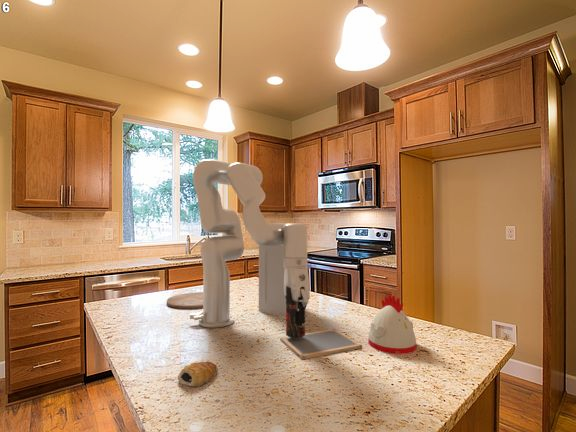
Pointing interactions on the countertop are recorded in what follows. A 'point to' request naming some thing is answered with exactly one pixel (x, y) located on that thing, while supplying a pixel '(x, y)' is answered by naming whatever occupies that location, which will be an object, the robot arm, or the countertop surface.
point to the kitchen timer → (392, 329)
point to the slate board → (320, 343)
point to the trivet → (186, 301)
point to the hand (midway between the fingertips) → (295, 319)
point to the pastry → (197, 373)
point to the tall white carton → (271, 280)
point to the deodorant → (292, 317)
